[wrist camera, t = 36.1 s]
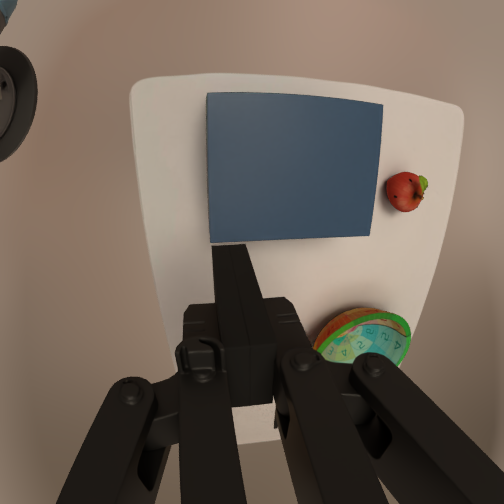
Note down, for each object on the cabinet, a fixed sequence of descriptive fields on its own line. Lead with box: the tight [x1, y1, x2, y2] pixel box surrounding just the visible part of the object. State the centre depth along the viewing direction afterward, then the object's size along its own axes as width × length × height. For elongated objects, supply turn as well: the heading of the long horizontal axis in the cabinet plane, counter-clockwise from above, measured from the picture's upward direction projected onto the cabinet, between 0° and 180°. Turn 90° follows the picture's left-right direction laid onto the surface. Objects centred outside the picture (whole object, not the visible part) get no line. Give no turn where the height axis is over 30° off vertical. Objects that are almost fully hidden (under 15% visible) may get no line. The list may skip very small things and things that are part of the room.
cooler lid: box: [207, 92, 383, 243], centre depth 34 cm, size 20×17×1 cm
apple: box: [387, 172, 428, 212], centre depth 48 cm, size 8×7×10 cm
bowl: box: [313, 308, 411, 366], centre depth 61 cm, size 22×22×10 cm
